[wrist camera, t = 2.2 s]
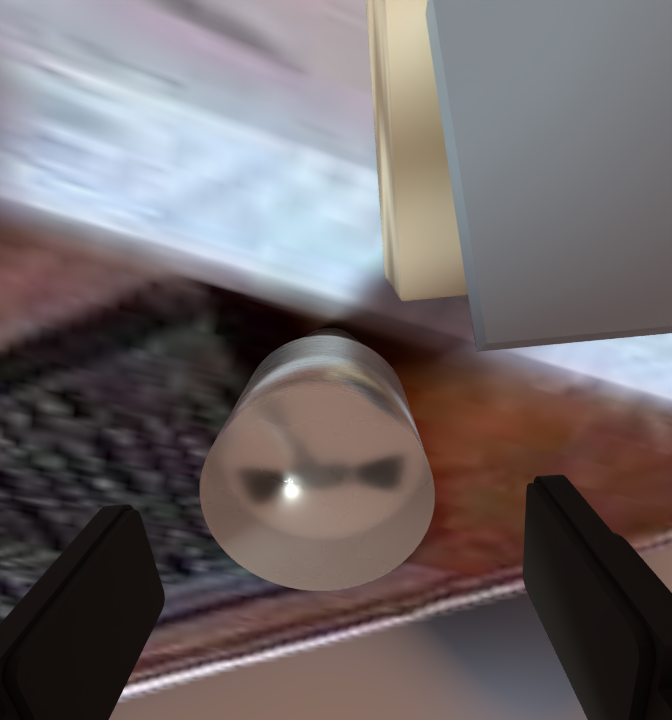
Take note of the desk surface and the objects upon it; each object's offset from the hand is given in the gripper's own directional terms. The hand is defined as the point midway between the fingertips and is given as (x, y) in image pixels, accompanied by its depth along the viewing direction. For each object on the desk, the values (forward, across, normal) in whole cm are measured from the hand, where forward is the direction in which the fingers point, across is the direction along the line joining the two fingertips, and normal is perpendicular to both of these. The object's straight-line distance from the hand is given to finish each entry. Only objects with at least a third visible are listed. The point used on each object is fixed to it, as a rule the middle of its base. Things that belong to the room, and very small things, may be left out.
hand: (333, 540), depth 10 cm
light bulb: (+11, +1, -1) cm, 11 cm away
